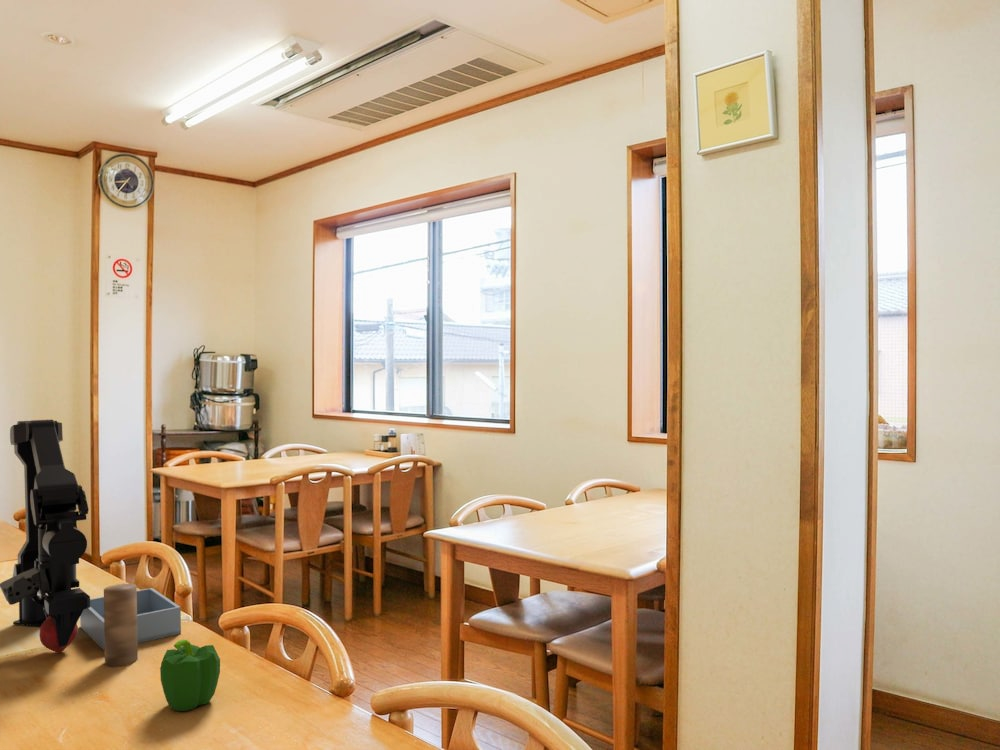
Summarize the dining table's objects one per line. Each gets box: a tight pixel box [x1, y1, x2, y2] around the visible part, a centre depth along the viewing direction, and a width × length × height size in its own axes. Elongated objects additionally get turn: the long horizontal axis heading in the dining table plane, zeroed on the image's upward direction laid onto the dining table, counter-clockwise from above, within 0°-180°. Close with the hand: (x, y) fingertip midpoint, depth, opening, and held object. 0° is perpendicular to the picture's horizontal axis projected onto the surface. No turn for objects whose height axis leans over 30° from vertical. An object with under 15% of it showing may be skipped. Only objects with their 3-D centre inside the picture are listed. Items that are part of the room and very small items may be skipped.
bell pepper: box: [159, 639, 221, 712], centre depth 115 cm, size 8×8×10 cm
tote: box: [79, 587, 182, 652], centre depth 148 cm, size 17×13×5 cm
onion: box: [39, 616, 79, 654], centre depth 137 cm, size 6×6×8 cm
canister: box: [103, 583, 139, 668], centre depth 132 cm, size 5×5×12 cm
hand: (58, 641), depth 137 cm, fingers closed on onion, 6 cm apart
